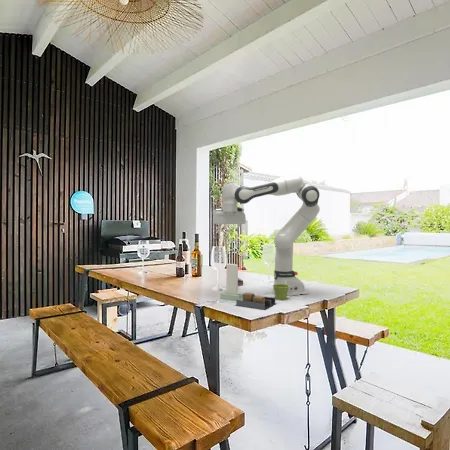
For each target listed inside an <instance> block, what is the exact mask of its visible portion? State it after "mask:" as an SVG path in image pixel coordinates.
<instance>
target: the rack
mask: <svg viewBox="0 0 450 450" xmlns="http://www.w3.org/2000/svg"><path fill="white" fill-rule="evenodd" d="M254 296H257V295H256V294H254ZM261 296H262V297H265V303H258V302H251V301H244V300H236V303H235V305H233V306H234V307H235V306H236V307H240V308H247V309H248V308H249V309H253V310H254V309H255V310H260V311H267V310H269V309H271V308H272V307H274V306H276V305H278V303H277V302H276V298H275V297H270V296H263V295H261Z"/></svg>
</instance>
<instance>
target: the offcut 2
mask: <svg viewBox="0 0 450 450" xmlns="http://www.w3.org/2000/svg"><path fill="white" fill-rule="evenodd" d="M262 296H263V295H256V296H254V297H253V302H258V303H265V297H266V296H264V297H262Z"/></svg>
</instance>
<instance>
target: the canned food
mask: <svg viewBox="0 0 450 450" xmlns="http://www.w3.org/2000/svg"><path fill="white" fill-rule="evenodd" d="M241 286H244V280H243V279H241V278H239V277H238V287H241Z"/></svg>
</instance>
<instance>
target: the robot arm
mask: <svg viewBox="0 0 450 450" xmlns="http://www.w3.org/2000/svg"><path fill="white" fill-rule="evenodd" d="M293 193H294V194H296V195H297V198H298V199H300V200H301V201H302V205H301V206H300V208H299V209H298V210H297V211H296V212H295V214H294V215H293V216H292V217H291V218H290V219H289V220H288V221H287V222H286V224H285V225H283V226H282V228H281V229H280V230H278V232H277V233H276V234H275V236H274V239H273V243H274V245H275V252H274V253H275V254H274V255H275V256H274V271H273V278H274V281H273V285H275V284H285V285H289V288H288V292H287V297H289V296H290V297H291V296H301V295H300V294H303V295H309V291H308V290H307V289H306V288H305V283H304V282H303V281H301V280H300V279H299V278H298V277H296V276H298V274H299V272H297V271H294V270H293V256H294V243H295V241H297V239H298V238H299V237H300V236H301V235H302V234H303V232H305V230H306V229H307V228H308V227H309V226H310V225H311V224H312V222H313V221H315V219H316V218H317V216H318V214H319V213H320V210H321V209H320V205H319V198H320V191H319V189H318V188H317V187H316V186H314V185H313V184H311V183H307V182H304V179H303V177H302V176H301V175H299V174H290V175H285V176H281V177H278V178H276V179H273V180H271V181H269V182H267V183H265V184H261V185H256V186H252V187H249V186H246V185H245V186H243V185H242V186H241V185H238V184H237V183H236V182H227V183H225V184H223V186H222V194H221V195H222V196H221V197H222V203H221V207H222V208H219V209H218V208H215V209H214V210H212V216H213V218H212V223H213V224H214V225H218V227H219V229H220V230H219V231H220V232H224V228H222V227H221V226H222V225H237V228H235V232H239V229H240V227H241V225H245V224H246V223H247V217H246V214H245V209H244V208H243V207H240V206H237V205H238V204H237V203H239V204H243V205H244V204H248V203H249V202H251V200H253V199H255V198H259V197H264V196H267V195H269V196H271V195H272V196H278V197H279V196H285V195H289V194H293ZM271 293H272V294H275V291H274V287H273V286H272V291H271Z"/></svg>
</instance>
